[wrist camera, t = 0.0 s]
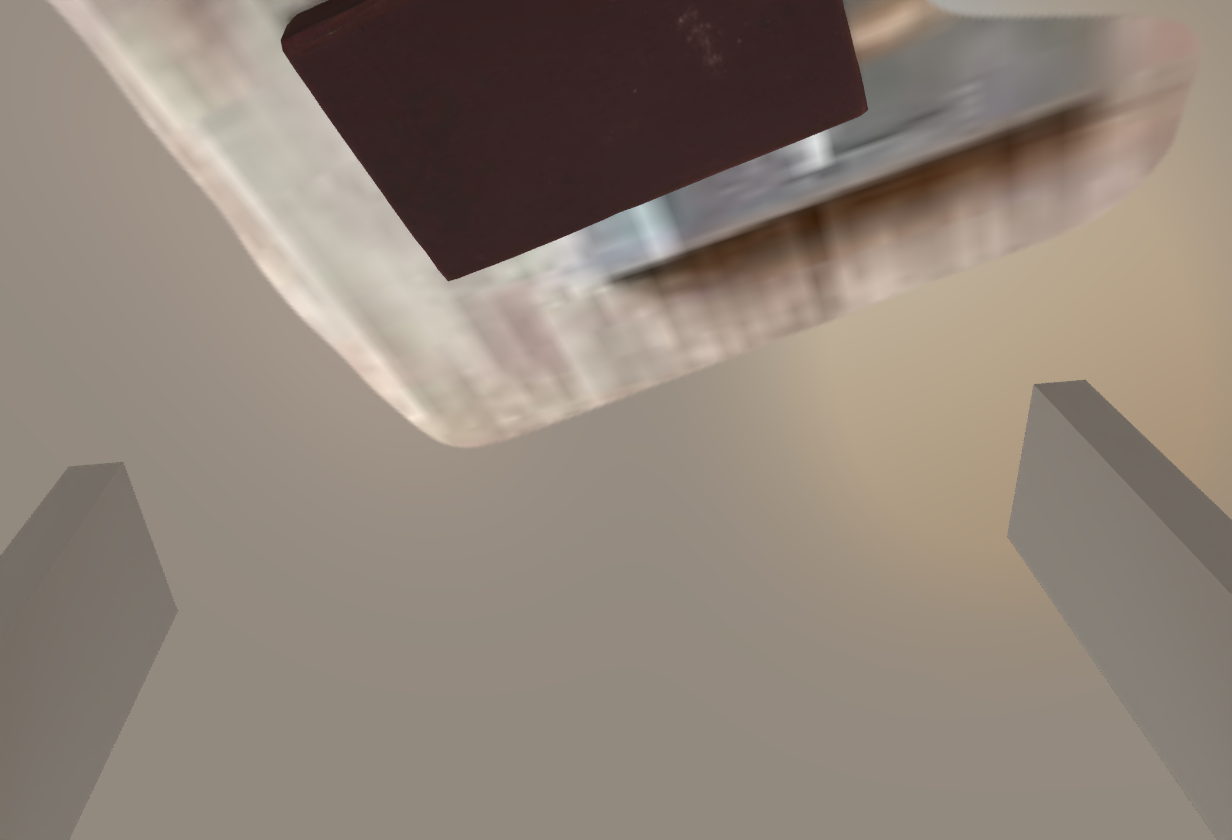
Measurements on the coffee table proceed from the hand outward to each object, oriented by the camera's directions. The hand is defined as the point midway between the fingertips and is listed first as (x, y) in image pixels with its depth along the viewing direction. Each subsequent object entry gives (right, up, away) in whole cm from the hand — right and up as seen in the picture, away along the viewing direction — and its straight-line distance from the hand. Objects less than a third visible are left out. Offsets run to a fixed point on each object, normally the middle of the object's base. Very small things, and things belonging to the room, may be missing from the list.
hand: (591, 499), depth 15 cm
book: (-1, +16, +25) cm, 30 cm away
